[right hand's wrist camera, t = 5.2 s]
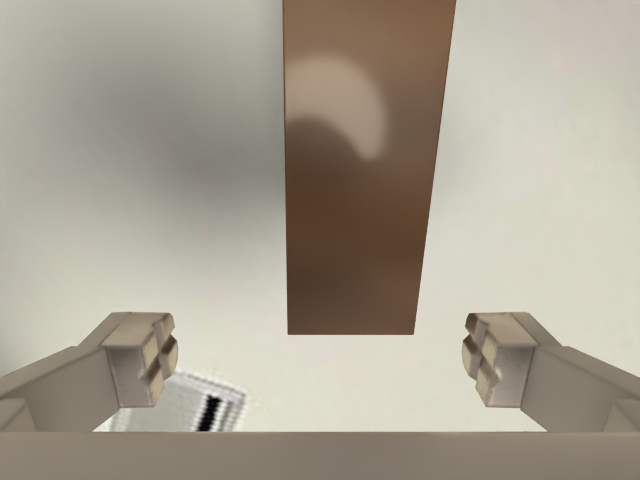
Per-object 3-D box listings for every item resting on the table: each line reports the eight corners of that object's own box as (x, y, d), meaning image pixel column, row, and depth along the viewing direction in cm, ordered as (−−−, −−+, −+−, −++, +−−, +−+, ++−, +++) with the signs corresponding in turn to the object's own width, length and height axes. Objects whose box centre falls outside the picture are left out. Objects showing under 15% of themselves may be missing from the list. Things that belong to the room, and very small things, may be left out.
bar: (379, 257, 23) (413, 335, 15) (295, 256, 23) (287, 335, 15) (430, -362, 14) (574, -918, 6) (291, -371, 14) (267, -948, 6)
